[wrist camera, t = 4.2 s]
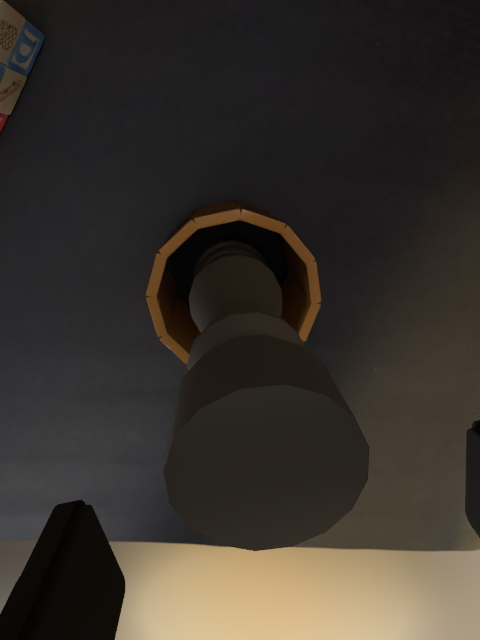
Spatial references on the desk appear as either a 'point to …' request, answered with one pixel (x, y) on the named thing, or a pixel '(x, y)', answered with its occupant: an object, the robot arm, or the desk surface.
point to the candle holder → (257, 416)
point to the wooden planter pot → (175, 313)
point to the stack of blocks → (15, 56)
